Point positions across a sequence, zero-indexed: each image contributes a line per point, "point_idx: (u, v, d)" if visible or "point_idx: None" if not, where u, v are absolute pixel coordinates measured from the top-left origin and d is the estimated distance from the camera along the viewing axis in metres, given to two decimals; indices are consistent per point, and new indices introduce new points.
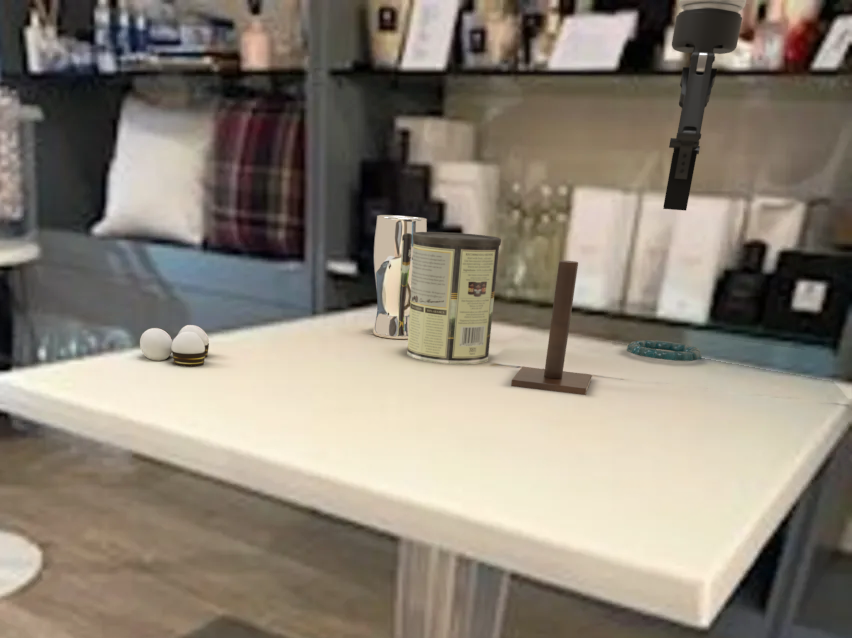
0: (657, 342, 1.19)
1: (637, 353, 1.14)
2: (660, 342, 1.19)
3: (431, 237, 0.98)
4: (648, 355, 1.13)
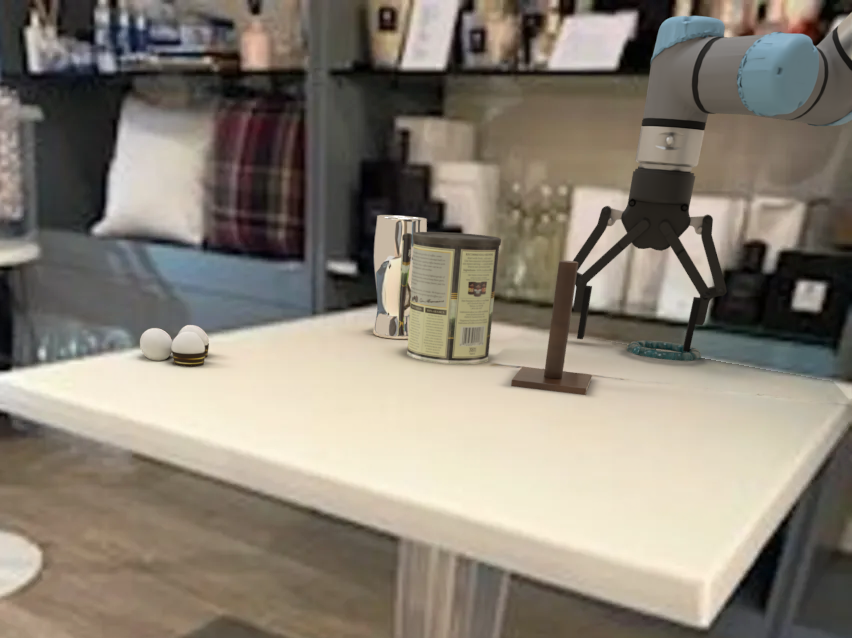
0: (657, 342, 1.19)
1: (637, 353, 1.14)
2: (660, 342, 1.19)
3: (431, 237, 0.98)
4: (648, 355, 1.13)
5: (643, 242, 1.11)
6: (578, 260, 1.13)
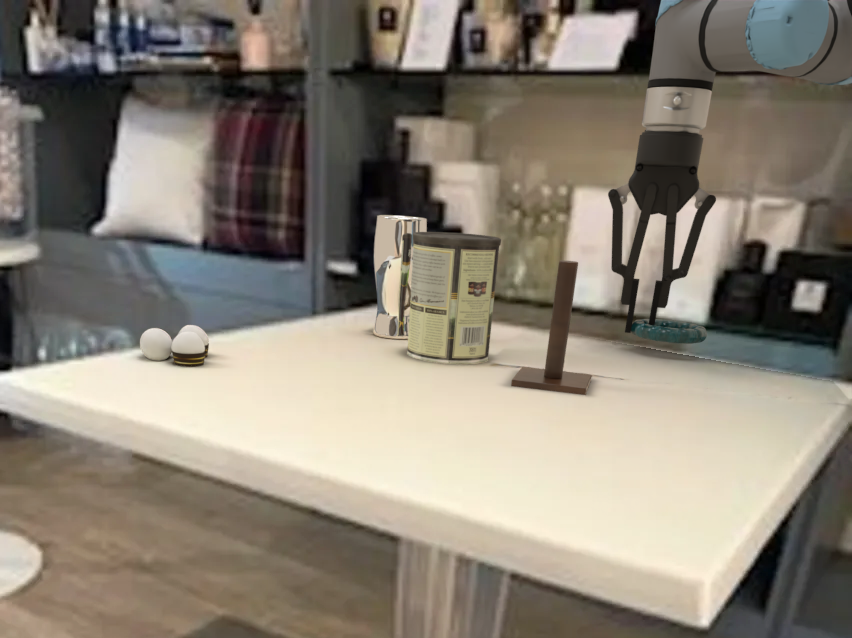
0: (662, 321, 1.18)
1: (641, 330, 1.12)
2: (665, 321, 1.18)
3: (431, 237, 0.98)
4: (652, 332, 1.11)
5: (651, 207, 1.08)
6: (616, 249, 1.11)
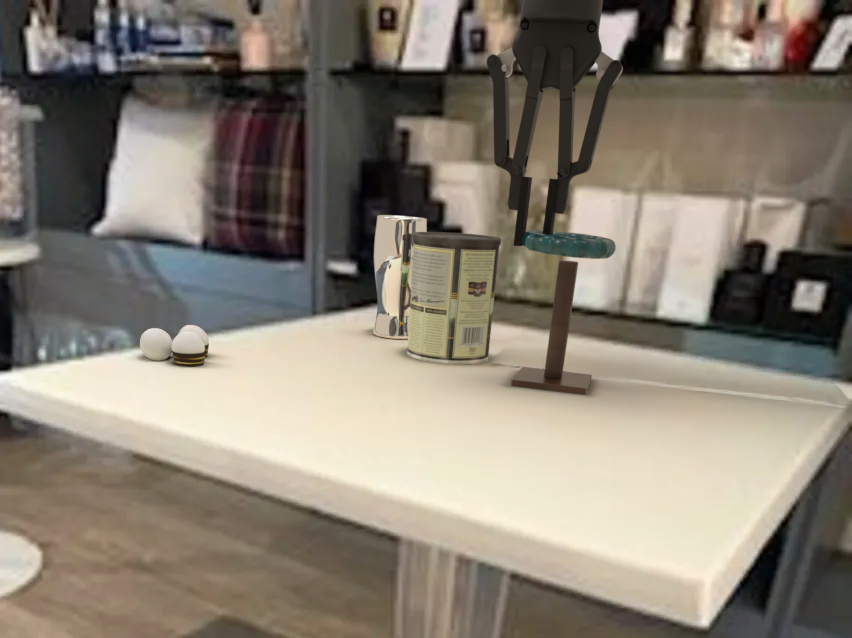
0: (564, 233, 0.94)
1: (531, 241, 0.88)
2: (568, 233, 0.94)
3: (431, 237, 0.98)
4: (544, 242, 0.87)
5: (541, 79, 0.84)
6: (499, 136, 0.87)
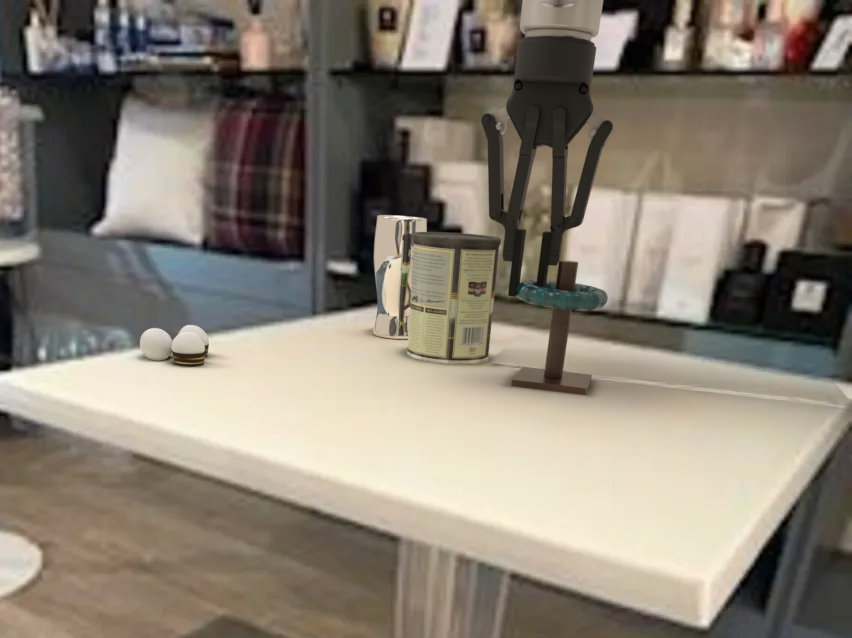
0: None
1: (525, 293, 0.91)
2: None
3: (431, 237, 0.98)
4: (537, 295, 0.90)
5: (534, 137, 0.87)
6: (494, 191, 0.90)
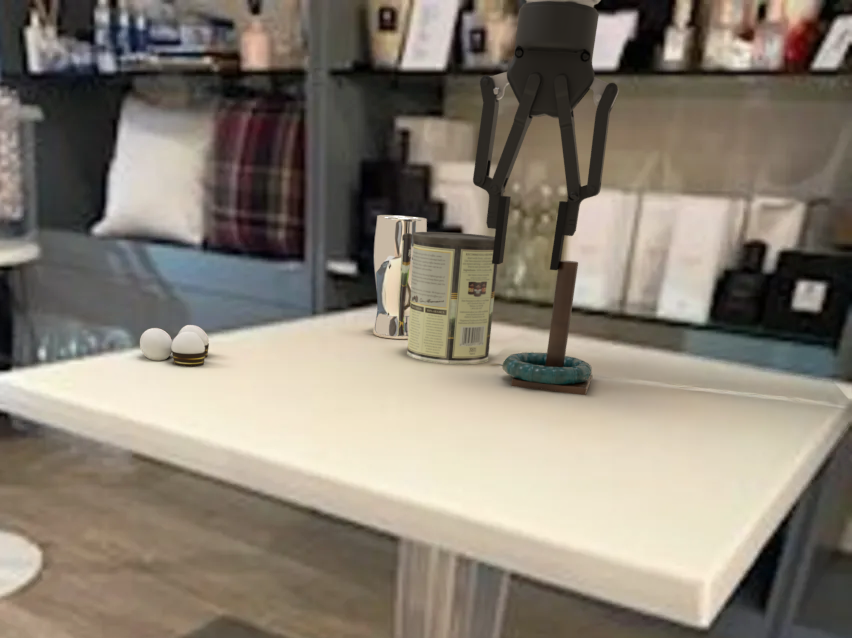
0: (543, 355, 0.99)
1: (512, 369, 0.94)
2: (546, 355, 0.99)
3: (431, 237, 0.98)
4: (523, 371, 0.93)
5: (535, 106, 0.86)
6: (481, 156, 0.88)
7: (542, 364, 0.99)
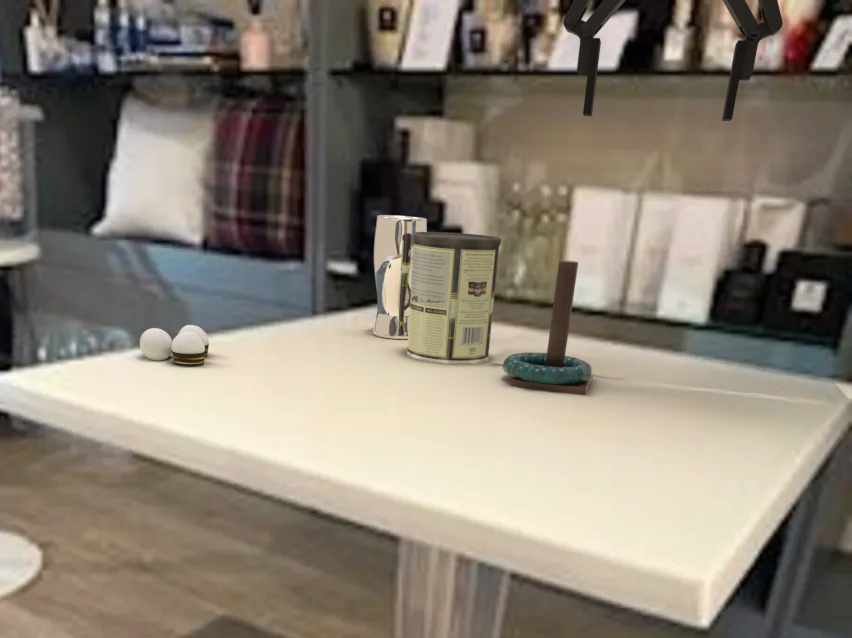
0: (543, 355, 0.99)
1: (512, 369, 0.94)
2: (546, 355, 0.99)
3: (431, 237, 0.98)
4: (523, 371, 0.93)
5: None
6: None
7: (542, 364, 0.99)
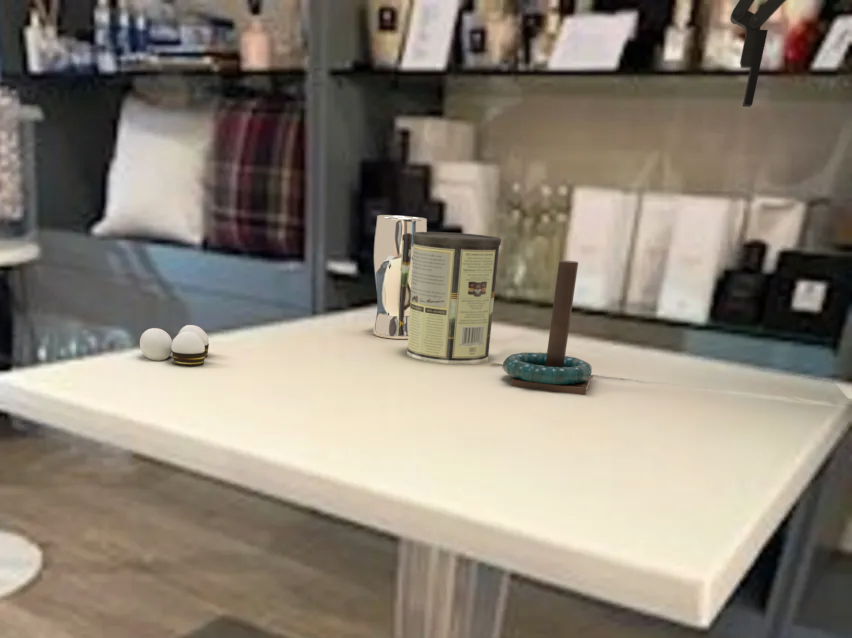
0: (543, 355, 0.99)
1: (512, 369, 0.94)
2: (546, 355, 0.99)
3: (431, 237, 0.98)
4: (523, 371, 0.93)
5: None
6: None
7: (542, 364, 0.99)
